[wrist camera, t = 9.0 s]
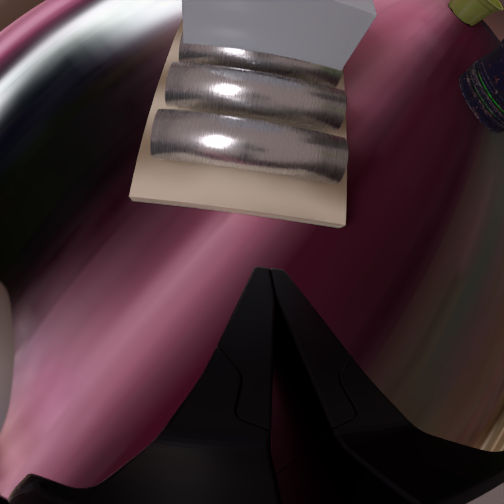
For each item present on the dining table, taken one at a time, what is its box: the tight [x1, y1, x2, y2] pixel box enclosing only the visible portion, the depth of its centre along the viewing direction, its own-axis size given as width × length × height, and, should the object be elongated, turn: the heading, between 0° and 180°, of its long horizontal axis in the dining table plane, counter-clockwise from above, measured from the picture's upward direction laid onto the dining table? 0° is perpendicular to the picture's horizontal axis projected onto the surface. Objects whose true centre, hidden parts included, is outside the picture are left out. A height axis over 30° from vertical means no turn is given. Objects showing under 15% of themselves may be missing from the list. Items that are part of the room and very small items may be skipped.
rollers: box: [150, 32, 348, 185], centre depth 22 cm, size 17×13×4 cm
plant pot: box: [448, 0, 503, 26], centre depth 30 cm, size 9×9×9 cm
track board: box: [129, 19, 347, 228], centre depth 24 cm, size 21×16×1 cm
